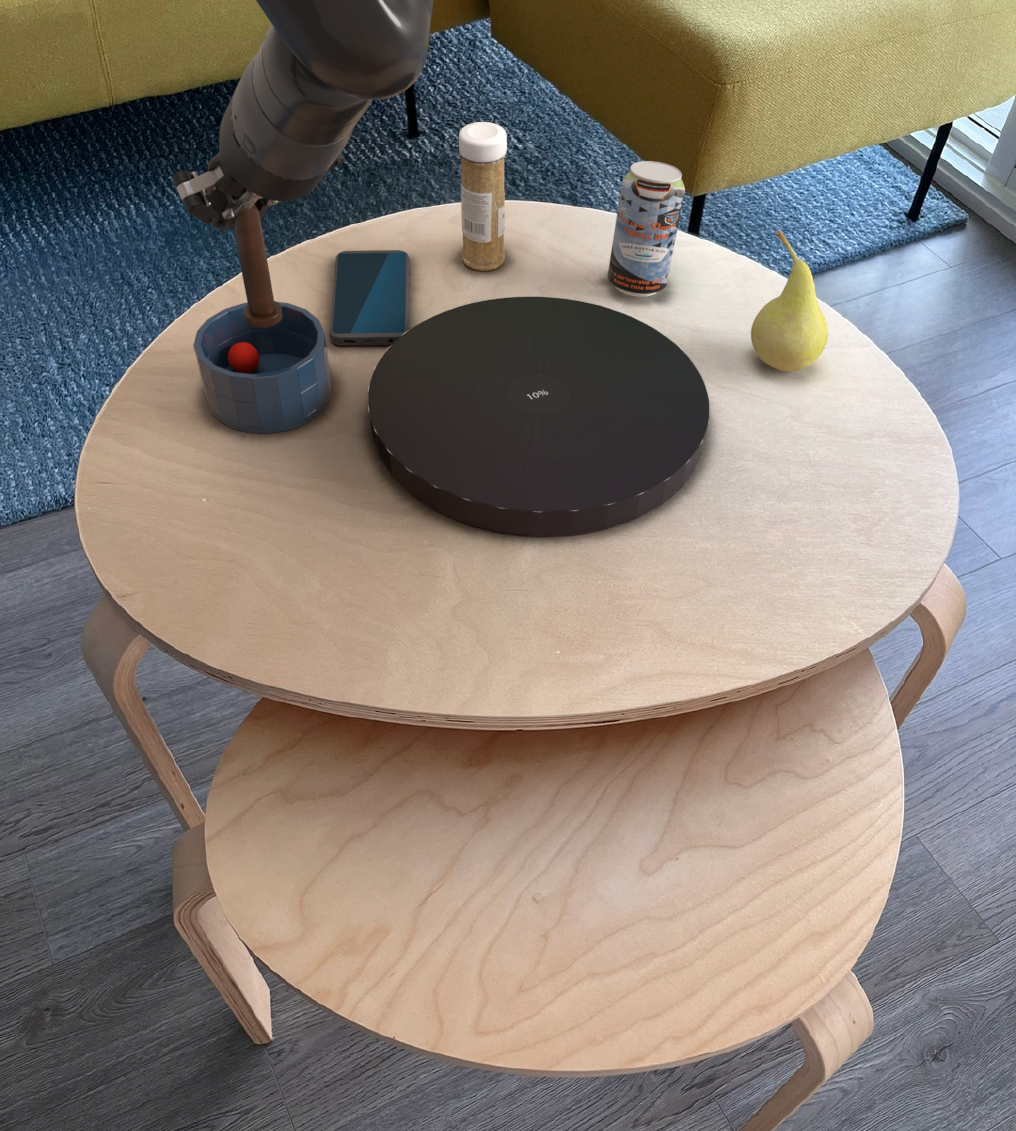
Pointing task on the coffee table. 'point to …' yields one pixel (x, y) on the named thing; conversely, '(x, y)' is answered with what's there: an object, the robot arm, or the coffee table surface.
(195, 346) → the bowl
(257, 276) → the stick
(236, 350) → the red ball
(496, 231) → the spice jar
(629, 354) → the disc
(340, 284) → the smartphone
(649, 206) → the beverage can
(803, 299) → the fruit
